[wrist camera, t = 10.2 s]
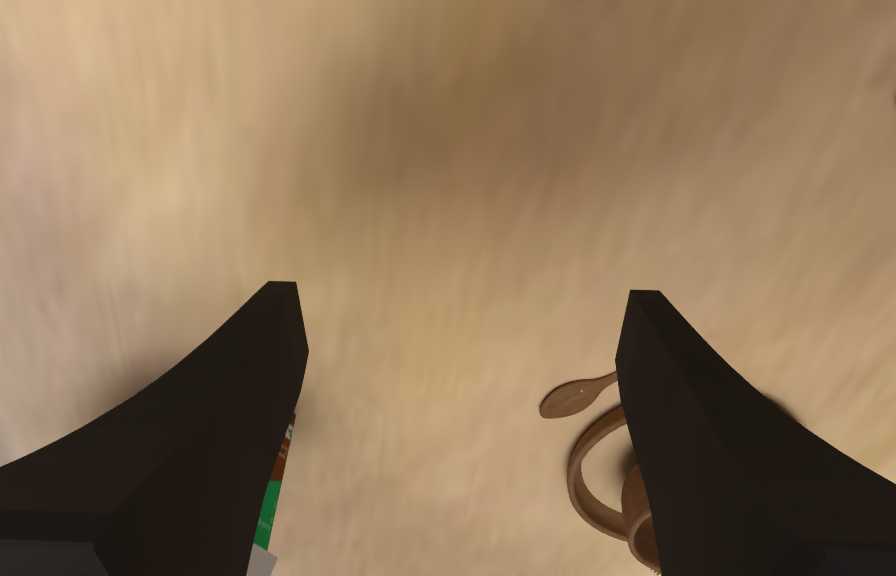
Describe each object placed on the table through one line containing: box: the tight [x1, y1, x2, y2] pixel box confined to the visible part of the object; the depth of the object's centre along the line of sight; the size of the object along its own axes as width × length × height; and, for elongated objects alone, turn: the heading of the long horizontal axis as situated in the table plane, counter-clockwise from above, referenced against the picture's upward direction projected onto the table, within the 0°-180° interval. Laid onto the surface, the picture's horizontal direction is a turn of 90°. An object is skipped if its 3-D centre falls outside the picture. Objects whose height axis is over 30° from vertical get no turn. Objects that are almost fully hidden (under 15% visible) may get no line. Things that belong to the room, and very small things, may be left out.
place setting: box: [539, 371, 792, 575], centre depth 32 cm, size 18×20×6 cm
